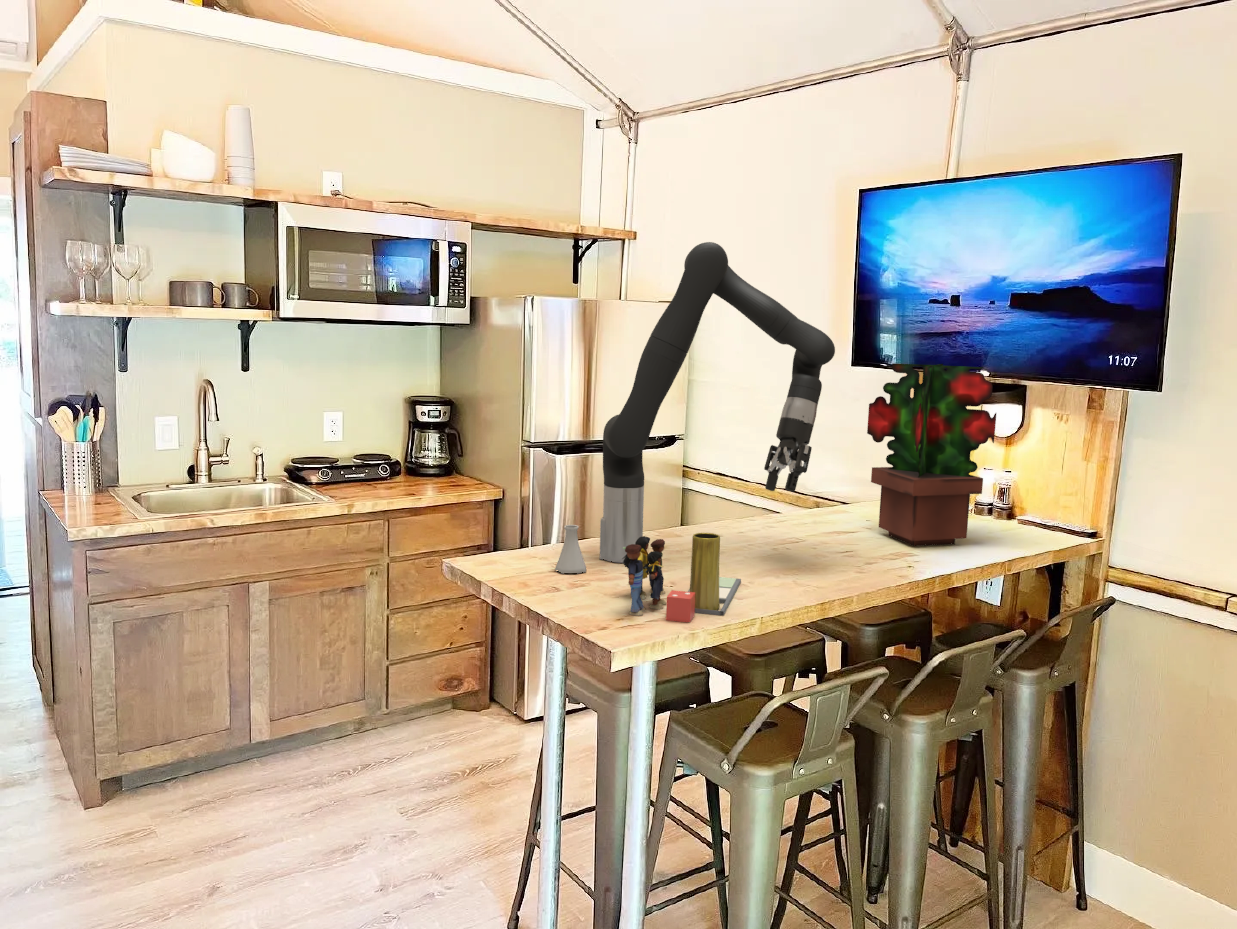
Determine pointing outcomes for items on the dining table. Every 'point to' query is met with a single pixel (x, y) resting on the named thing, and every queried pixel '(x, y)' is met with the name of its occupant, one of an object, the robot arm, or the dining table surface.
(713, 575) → the vase
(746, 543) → the dining table surface
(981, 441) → the potted plant
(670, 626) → the dining table surface
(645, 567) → the doll family
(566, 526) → the flask
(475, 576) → the dining table surface
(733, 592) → the game board
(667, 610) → the red die
